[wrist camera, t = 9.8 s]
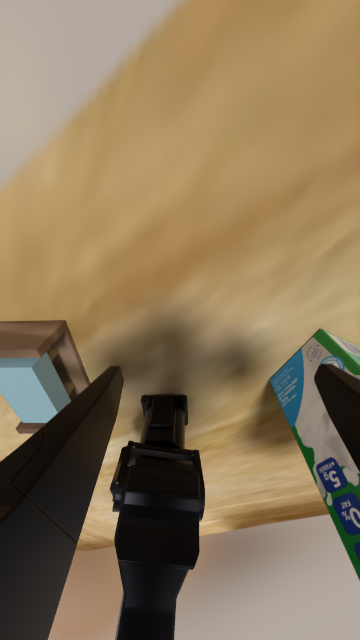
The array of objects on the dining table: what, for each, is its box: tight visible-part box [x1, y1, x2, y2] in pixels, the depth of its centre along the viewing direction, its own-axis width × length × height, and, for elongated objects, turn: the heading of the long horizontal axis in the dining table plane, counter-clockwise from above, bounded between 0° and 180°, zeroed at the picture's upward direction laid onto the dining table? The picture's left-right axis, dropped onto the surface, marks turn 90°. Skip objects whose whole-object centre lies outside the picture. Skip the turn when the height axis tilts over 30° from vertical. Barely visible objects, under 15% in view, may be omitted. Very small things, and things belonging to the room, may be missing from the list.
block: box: [0, 352, 71, 423], centre depth 23 cm, size 9×5×2 cm, turn 3°
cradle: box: [0, 320, 90, 433], centre depth 24 cm, size 14×8×5 cm, turn 2°
